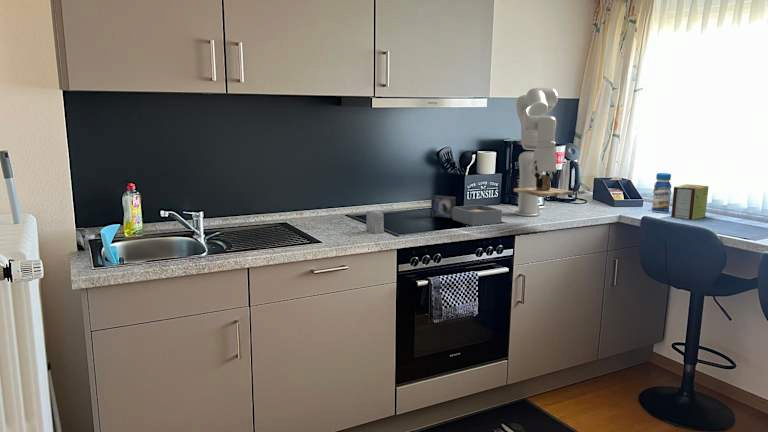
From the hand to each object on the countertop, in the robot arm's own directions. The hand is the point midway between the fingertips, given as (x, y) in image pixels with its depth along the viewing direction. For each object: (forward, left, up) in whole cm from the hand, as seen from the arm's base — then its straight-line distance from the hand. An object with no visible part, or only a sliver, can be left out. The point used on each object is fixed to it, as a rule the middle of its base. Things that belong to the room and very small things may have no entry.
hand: (543, 186), depth 254 cm
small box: (+26, -40, -19) cm, 51 cm away
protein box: (-87, +9, -19) cm, 90 cm away
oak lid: (0, 0, -3) cm, 3 cm away
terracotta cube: (+19, -22, -18) cm, 34 cm away
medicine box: (+70, -25, -19) cm, 77 cm away
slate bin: (+19, -22, -19) cm, 35 cm away
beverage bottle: (-87, -7, -19) cm, 89 cm away
